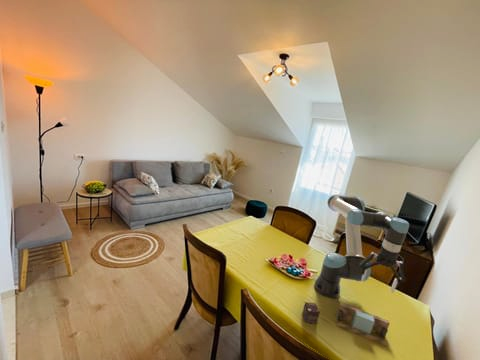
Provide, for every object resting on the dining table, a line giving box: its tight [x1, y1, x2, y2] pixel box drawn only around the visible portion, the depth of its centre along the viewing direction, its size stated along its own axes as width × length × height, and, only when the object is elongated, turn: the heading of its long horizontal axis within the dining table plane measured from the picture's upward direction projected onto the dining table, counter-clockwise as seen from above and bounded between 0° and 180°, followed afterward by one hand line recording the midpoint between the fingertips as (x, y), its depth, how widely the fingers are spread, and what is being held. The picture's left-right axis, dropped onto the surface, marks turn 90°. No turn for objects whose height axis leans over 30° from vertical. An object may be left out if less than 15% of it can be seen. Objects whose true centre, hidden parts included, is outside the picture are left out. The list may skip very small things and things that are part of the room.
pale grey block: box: [350, 310, 375, 335], centre depth 115 cm, size 8×4×9 cm, turn 69°
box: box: [302, 301, 321, 325], centre depth 118 cm, size 6×6×7 cm
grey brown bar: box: [335, 301, 391, 347], centre depth 116 cm, size 23×8×8 cm, turn 69°
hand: (376, 285), depth 117 cm, fingers open, 13 cm apart
